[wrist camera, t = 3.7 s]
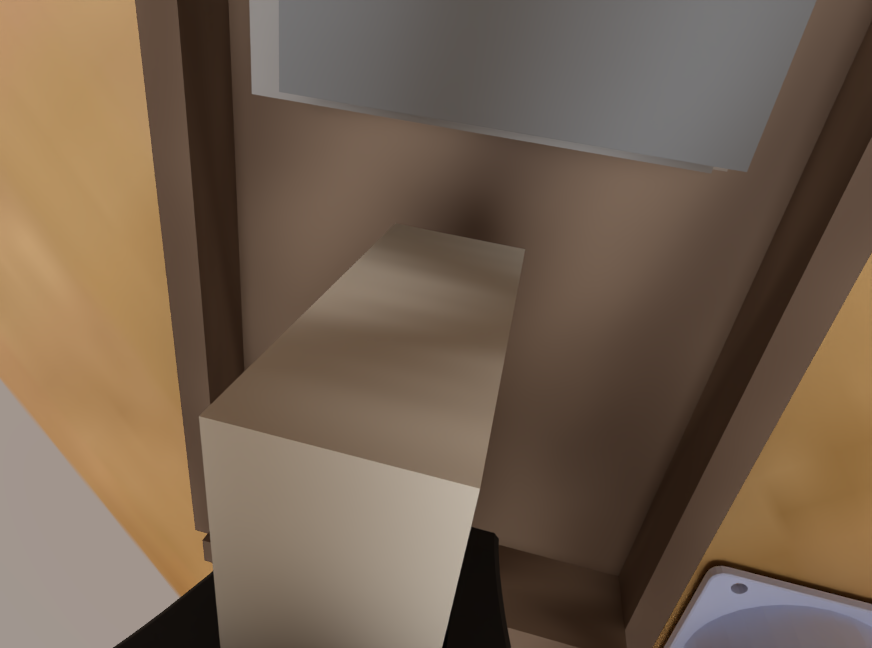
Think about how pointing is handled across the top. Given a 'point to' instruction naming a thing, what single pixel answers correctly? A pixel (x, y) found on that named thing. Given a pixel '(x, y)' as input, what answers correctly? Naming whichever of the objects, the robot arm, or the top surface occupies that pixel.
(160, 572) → the top surface
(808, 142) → the walnut tray
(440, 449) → the grey rectangular block
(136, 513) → the top surface
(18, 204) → the top surface
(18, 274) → the top surface
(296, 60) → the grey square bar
